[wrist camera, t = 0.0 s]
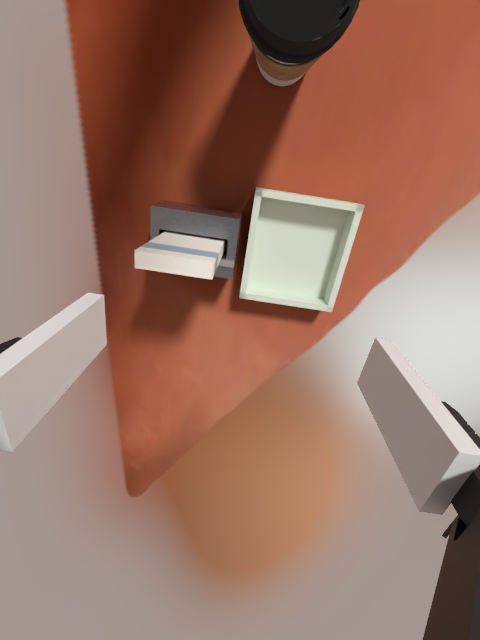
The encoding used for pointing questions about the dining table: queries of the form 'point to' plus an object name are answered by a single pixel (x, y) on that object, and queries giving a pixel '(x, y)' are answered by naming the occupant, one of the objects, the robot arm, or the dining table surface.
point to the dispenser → (200, 228)
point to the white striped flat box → (181, 254)
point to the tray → (298, 248)
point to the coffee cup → (293, 33)
